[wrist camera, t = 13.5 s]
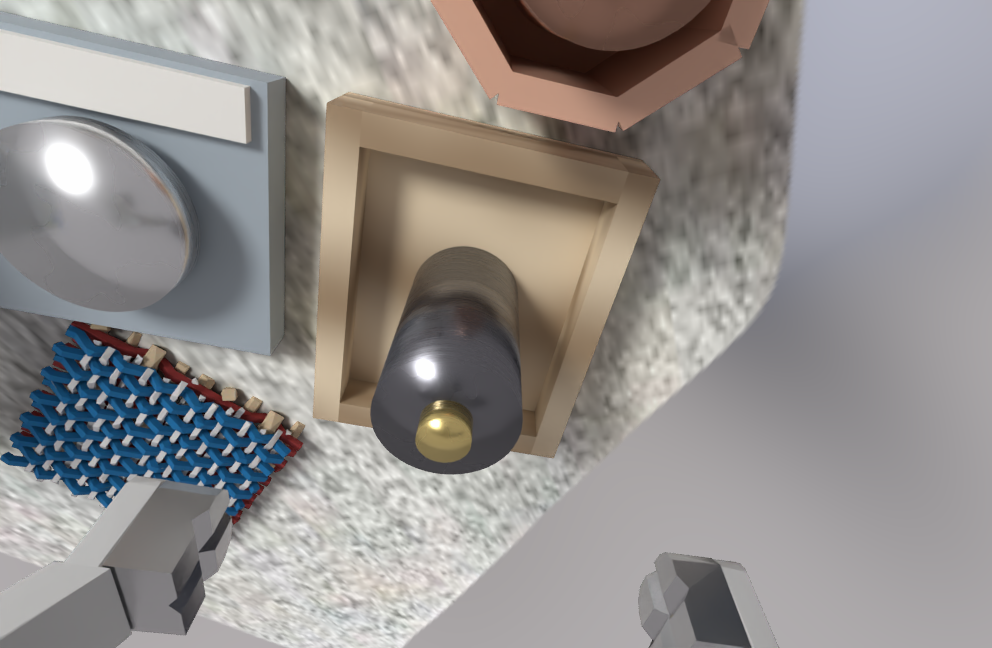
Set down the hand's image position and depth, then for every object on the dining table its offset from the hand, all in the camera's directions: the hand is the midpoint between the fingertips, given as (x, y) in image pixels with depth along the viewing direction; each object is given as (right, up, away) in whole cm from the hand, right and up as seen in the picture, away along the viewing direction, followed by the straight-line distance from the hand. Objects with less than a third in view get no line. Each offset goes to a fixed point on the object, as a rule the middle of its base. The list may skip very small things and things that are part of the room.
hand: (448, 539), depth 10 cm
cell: (0, +5, +10) cm, 11 cm away
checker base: (-12, +9, +9) cm, 17 cm away
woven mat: (-15, -1, +16) cm, 22 cm away
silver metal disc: (-12, +8, +7) cm, 16 cm away
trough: (0, +6, +10) cm, 12 cm away
